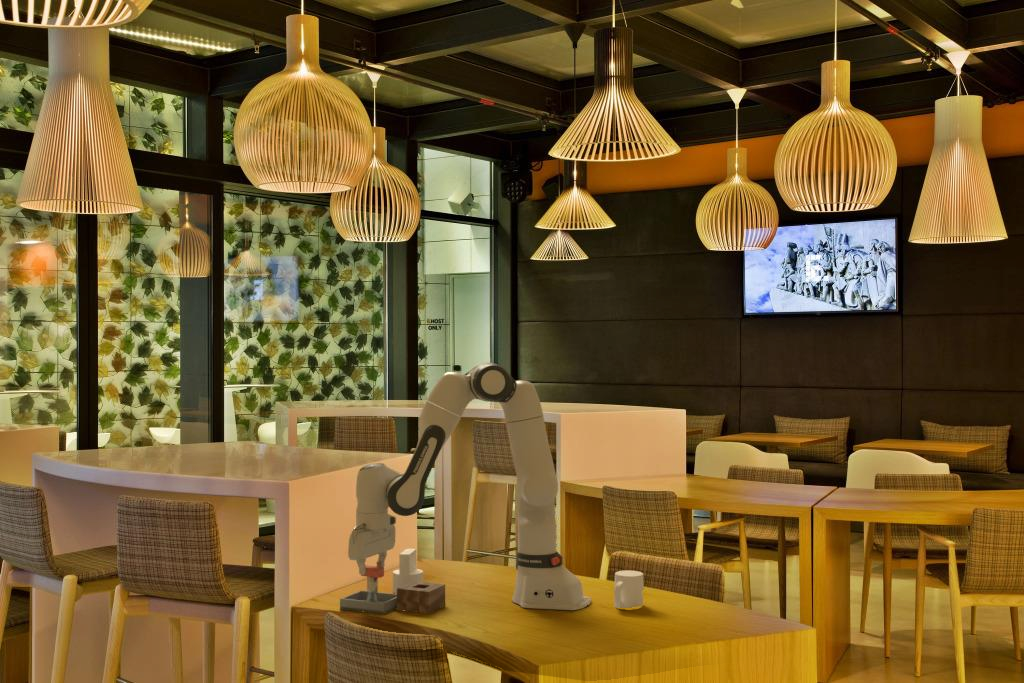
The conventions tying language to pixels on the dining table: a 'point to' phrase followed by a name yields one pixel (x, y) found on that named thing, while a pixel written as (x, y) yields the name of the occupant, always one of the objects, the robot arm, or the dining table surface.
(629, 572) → the mug
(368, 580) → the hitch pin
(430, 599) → the wooden square hole block
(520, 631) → the dining table surface
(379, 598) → the tray
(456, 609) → the dining table surface
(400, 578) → the base with upright slab
